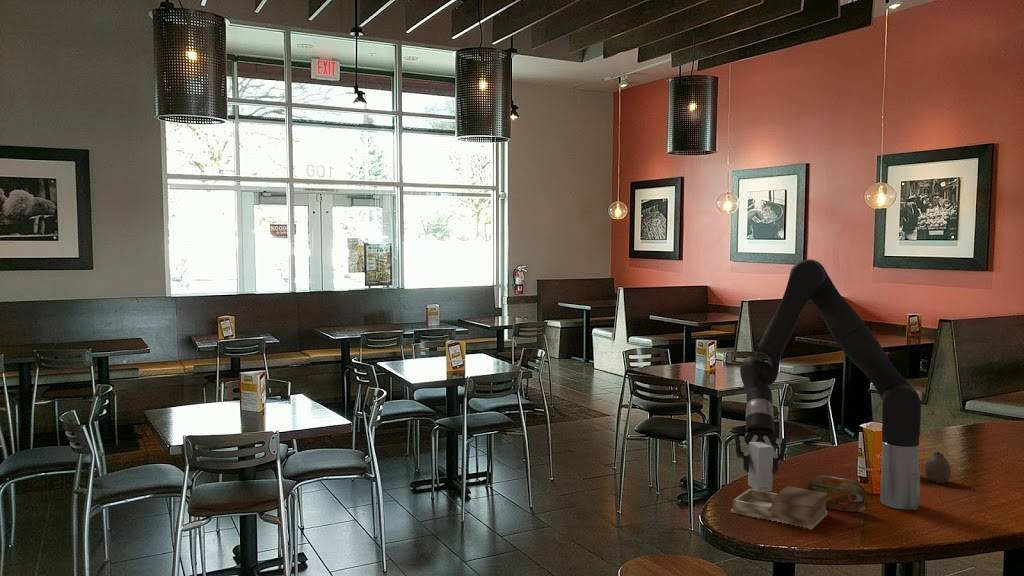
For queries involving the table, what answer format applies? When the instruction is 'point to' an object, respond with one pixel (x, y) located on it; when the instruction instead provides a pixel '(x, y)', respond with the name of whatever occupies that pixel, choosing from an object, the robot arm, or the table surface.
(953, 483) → the table surface
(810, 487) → the tin
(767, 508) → the organizer tray
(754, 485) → the skincare box
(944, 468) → the vase
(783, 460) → the robot arm
